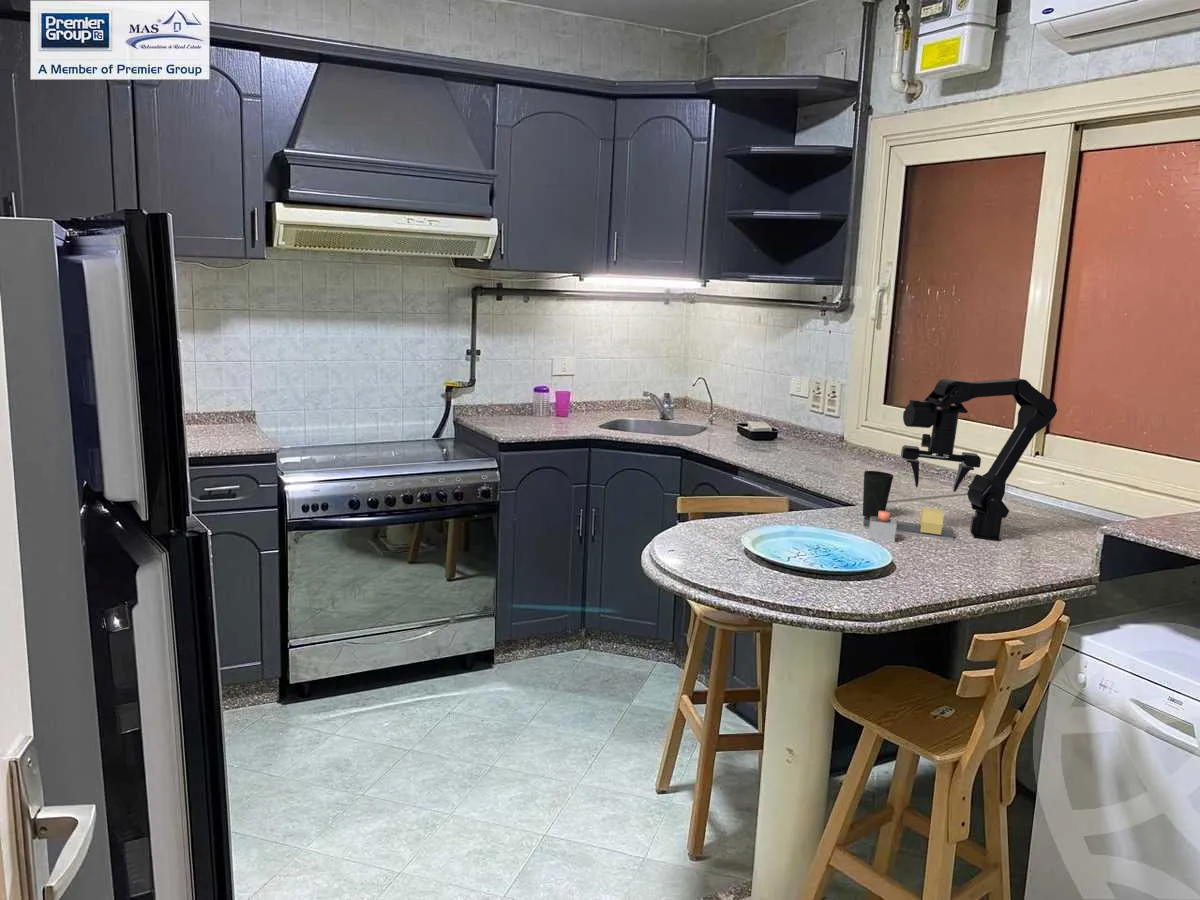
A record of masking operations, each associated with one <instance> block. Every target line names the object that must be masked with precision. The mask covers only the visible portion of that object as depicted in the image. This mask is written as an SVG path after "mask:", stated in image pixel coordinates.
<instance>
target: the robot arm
mask: <svg viewBox="0 0 1200 900" xmlns="http://www.w3.org/2000/svg"><path fill="white" fill-rule="evenodd" d="M1000 396H1002V397H1003V396H1013V399H1014V401H1015V403H1016V404H1018V405H1019V407H1020V408H1019V410H1018V413H1017V423H1016V426H1014V427H1015V428H1014V429H1013V431H1012V432H1011V434H1010V435H1009V437H1008V439H1007V441H1006V442H1005V444H1004V445H1003V447H1002V448H1001V450H1000V451H999V453H998V455H997V456H996V458H995V460H994V461H993V463H992V464H991V466H990V468H989V470H988V471H987V472H986V473H985V474H982V475H981V474H975V476H974V477H973V479H972V481H971V483H970V484H969V485H968V486H967V488H969V489H968V490H967V499H968V501H969V502H970V505H971V509H972V510H974V515H973V516H971V521H970V528H969V531H970V533H971V535H972V537H973V538H977V539H978V538H979V539H984V540H993V541H1001V536H1000V533H1001V527H1002V523H1003V519H1006V518H1007V517H1008V515H1009V513H1010V509H1009V508H1008V507H1007V505H1006V504H1005V502H1003V499H1004V496H1005V493H1006V484H1007V483H1006V482H1007V480H1008V478H1009V476H1010V475H1011V474H1012V472H1013V470H1014V469H1015V467H1016V466H1017V464H1018V463H1019V460H1020V459H1021V458H1022V456H1023V454H1024V453H1025V451H1026V449H1027V448H1028V446H1029V444H1030V443H1031V441H1032V440H1033V438H1034V436H1035V435H1036V434H1037V433H1038V432H1040V431H1041V430H1042V429H1044V428H1045V427H1047V426H1048V425H1049V424H1050V422H1051V421H1052V420H1053V419H1054V418H1055V417H1056V415H1057V412H1058V408H1057V404H1056V402H1055V401H1054V400H1053V399H1050V398H1048V397H1046V395H1045V394H1043V393H1042V392H1040V391H1039V390H1038V389H1036V387H1034V386H1033V385H1032V384H1031V383H1030V381H1028V380H1027V379H1022V378H1018V377H1013V378H1010V379H1009V378H1008V379H993V380H992V379H991V380H979V381H966V380H960V379H951V378H943V379H942V378H941V379H939V380H938V382H937V383H936V385H935V387H934V389H933V390H932V391H931V392H930V393H929V394H928V396H927V397H926V398H925V399H924V400H917V399H909V404H907V405H906V407H905V409H904V410H903V413H902V420H903V423H904V426H906V427H909V428H922V429H925V428H926V429H930V428H931V427H932V429H931V434H930V433H929V434H928V433H923V434H922V436H921V444H920V446H921V448H922V447H923V448H927V450H923V449H922V450H921V449H920V448H919V446H916V445H915V446H914V445H908V444H906V445H905V444H904V445H902V447H901V451H900V456H901V458H902V459H904V460H905V461H906V463H909V464H910V465H911V470H912V472H913V478H914V484H915V485H914V486H915V487H916V488H918V486H919V482H920V481H919V480H920V479H919V478H920V475H919V474H920V461H919V458H922V459H923V458H924V459H931V460H937V461H938V460H940V461H948V462H956V463H958V468H957V473H956V477H955V480H954V484H953V490H952V491H953V493H957V492H956V491H957V490H958V488H959V486H960V485H961V483H962V482H963V480H964V478H965V477H966V476H967V474H968V473H969V472H970V471H975V468H980V467H981V463H982V458H981V457H980V456H979V455H978V453H975V452H964V451H962V452H961V454H958V453H957V454H956V453H954V449H955V440H956V435H957V430H958V422H959V416H960V414H968V412H969V411H968V410H967V409H966V407H965V406H964V404H963V403H965V402H969V401H971V400H973V399H977V398H990V397H1000Z"/></svg>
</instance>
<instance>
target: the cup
mask: <svg viewBox="0 0 1200 900" xmlns="http://www.w3.org/2000/svg"><path fill="white" fill-rule="evenodd" d="M893 479H894V474H892V473H890V472H889V473H888V472H884V471H879V470H865V471H864V472H863V496H862V516H863V517H869V518H870V517H871V516H875V517H878V513H879V511H887V510H886V509H887V505H888V500H889V496H890V492H891V487H892V484H893Z"/></svg>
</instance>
